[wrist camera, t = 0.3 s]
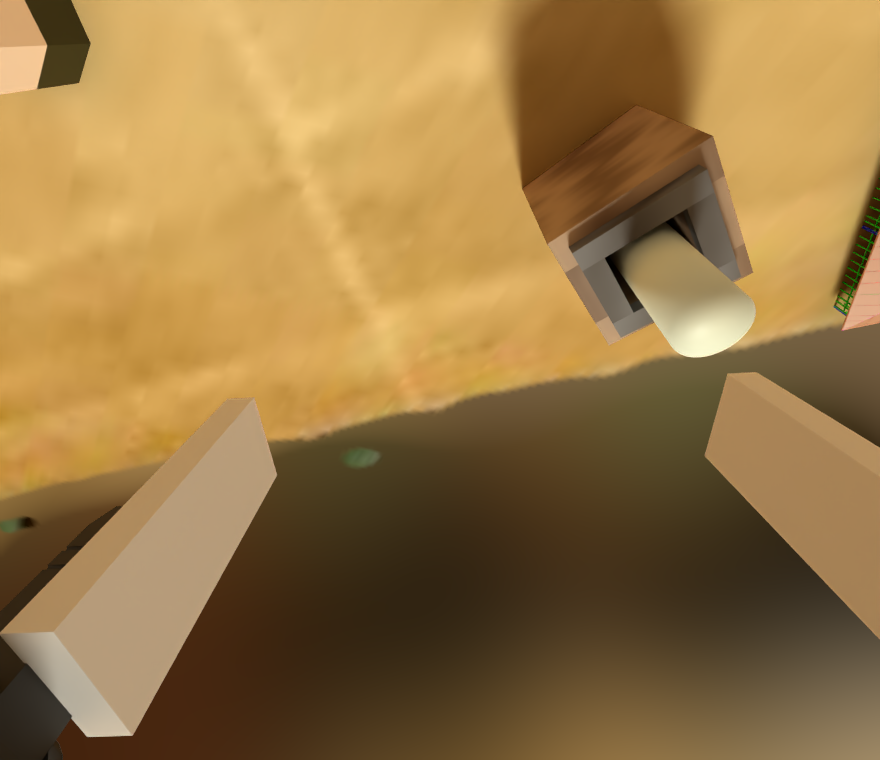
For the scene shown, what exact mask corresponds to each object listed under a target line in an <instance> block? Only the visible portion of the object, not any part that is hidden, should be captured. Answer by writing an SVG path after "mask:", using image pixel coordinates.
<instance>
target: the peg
mask: <svg viewBox="0 0 880 760" xmlns="http://www.w3.org/2000/svg"><path fill="white" fill-rule="evenodd" d="M609 257H610V259H611V260H612V262H613V263H614V265H615V266H616V267H617V269H618V270H619V272H620V273H621V275H622V276H623V277H624V279H625V280H626V282H627V283H628V285H629V286H630V288H631V289H632V290H633V292H634V293H635V295H636V296H637V298H638V299H639V300H640V302H641V303H642V305H643V306H644V308H645V309H646V310H647V312H648V313H649V315H650V316H651V318H652V319H653V321H654V322H655V323H656V325H657V326H658V328H659V329H660V331H661V332H662V333H663V335H664V336H665V338H666V339H667V341H668V342H669V344H670V345H671V346H672V348H673V349H674V350H675V351H676V352H678V353H679V354H681V355H684V356H688V357H704V356H709V355H713V354H716V353H718V352H721V351H723V350H725V349H727V348H729V347H730V346H732V345H733V344H735V343H736V342H737V341H739V340H740V339H741V338H742V337H743V336H744V335H745V334H746V333H747V331H748V330H749V329H750V327H751V325H752V323H753V321H754V318H755V314H756V308H755V304H754V302H753V300H752V299H751V298H750V297H749V296H748V295H747V294H746V293H744V292H743V291H742V290H741V289H740V288H739V287H738V286H737V285H736V284H734V283H733V282H732V281H731V280H730V279H729V278H728V277H727V276H725V275H724V274H723V273H722V272H721V271H720V270H719V269H718V268H717V267H715V266H714V265H713V264H712V263H711V262H710V261H709V260H708V259H707V258H705V257H704V256H703V255H702V254H701V253H700V252H699V251H698V250H696V249H695V248H694V247H693V246H692V245H691V244H690V243H689V242H688V241H686V240H685V239H684V238H683V237H682V236H681V235H680V234H679V233H678V232H676V231H675V230H674V229H673V228H672V227H671V226H670V225H669V224H667V223H666V222H664V223H662V224H660V225H659V226H657V227H655V228H654V229H652V230H650V231H649V232H647V233H645V234H644V235H642V236H640V237H639V238H637V239H635V240H634V241H632V242H630V243H629V244H627V245H625V246H624V247H622V248H620V249H619V250H617V251H615V252H614V253H612V254H610V255H609Z"/></svg>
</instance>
